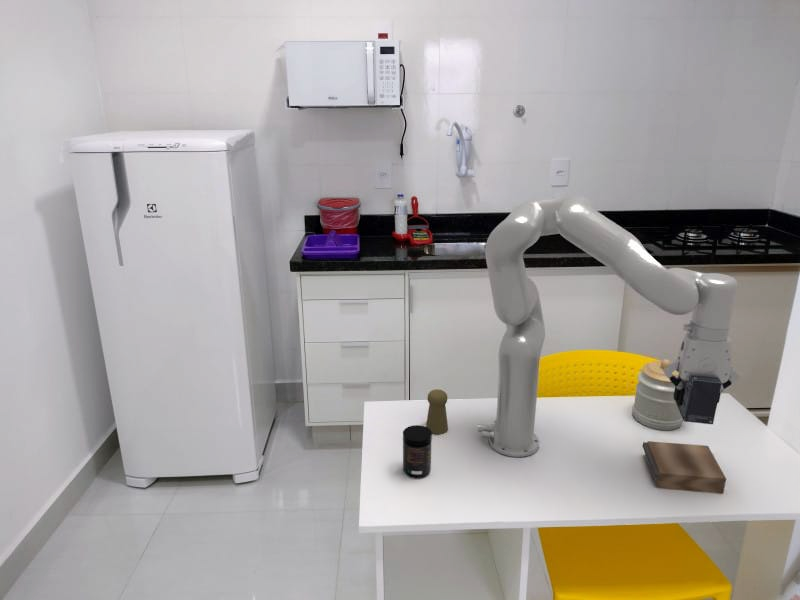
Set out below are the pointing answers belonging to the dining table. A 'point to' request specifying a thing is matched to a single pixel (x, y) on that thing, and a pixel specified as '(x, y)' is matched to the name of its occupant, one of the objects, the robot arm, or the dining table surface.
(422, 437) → the supplement container
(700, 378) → the small box
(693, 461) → the dock
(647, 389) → the jar
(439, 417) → the cork
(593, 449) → the dining table surface
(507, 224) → the robot arm
